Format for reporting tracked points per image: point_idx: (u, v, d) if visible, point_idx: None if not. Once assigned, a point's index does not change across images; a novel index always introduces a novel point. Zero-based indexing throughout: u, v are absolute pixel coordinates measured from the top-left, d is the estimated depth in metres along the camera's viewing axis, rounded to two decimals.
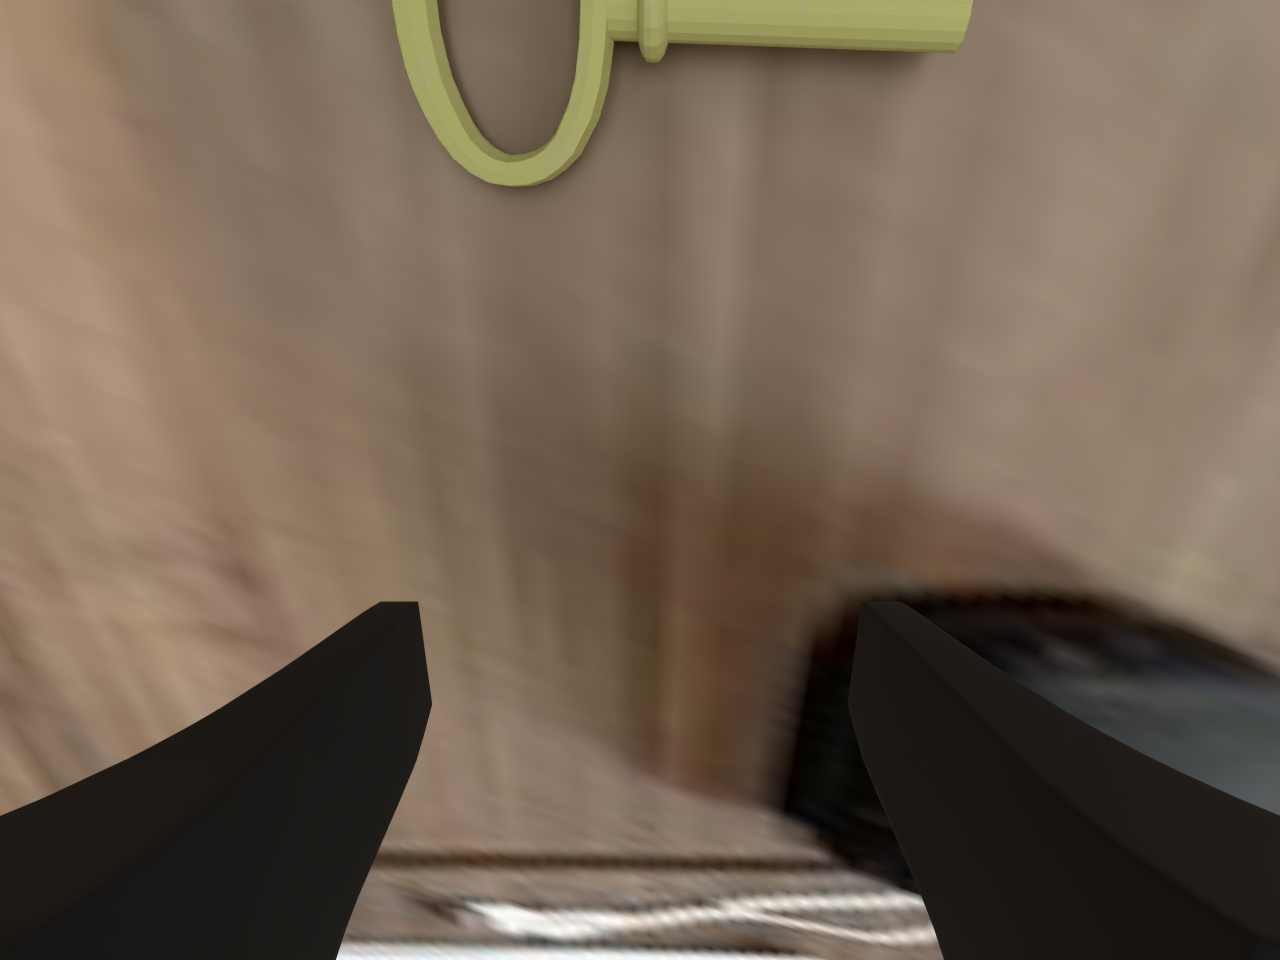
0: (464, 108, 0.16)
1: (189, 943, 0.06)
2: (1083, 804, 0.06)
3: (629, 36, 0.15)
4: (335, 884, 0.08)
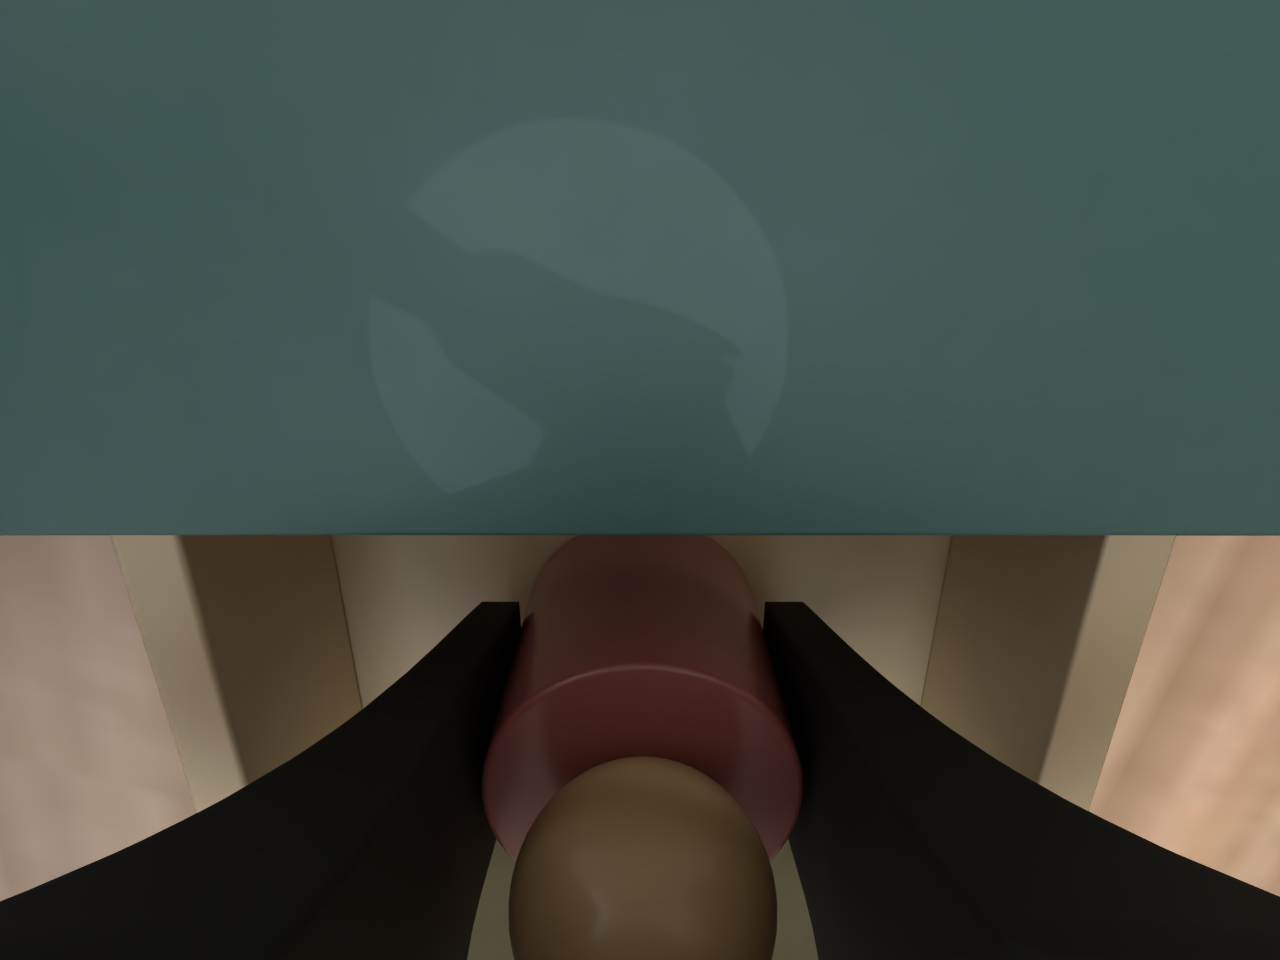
0: None
1: (383, 942, 0.06)
2: (908, 802, 0.06)
3: None
4: (466, 883, 0.08)
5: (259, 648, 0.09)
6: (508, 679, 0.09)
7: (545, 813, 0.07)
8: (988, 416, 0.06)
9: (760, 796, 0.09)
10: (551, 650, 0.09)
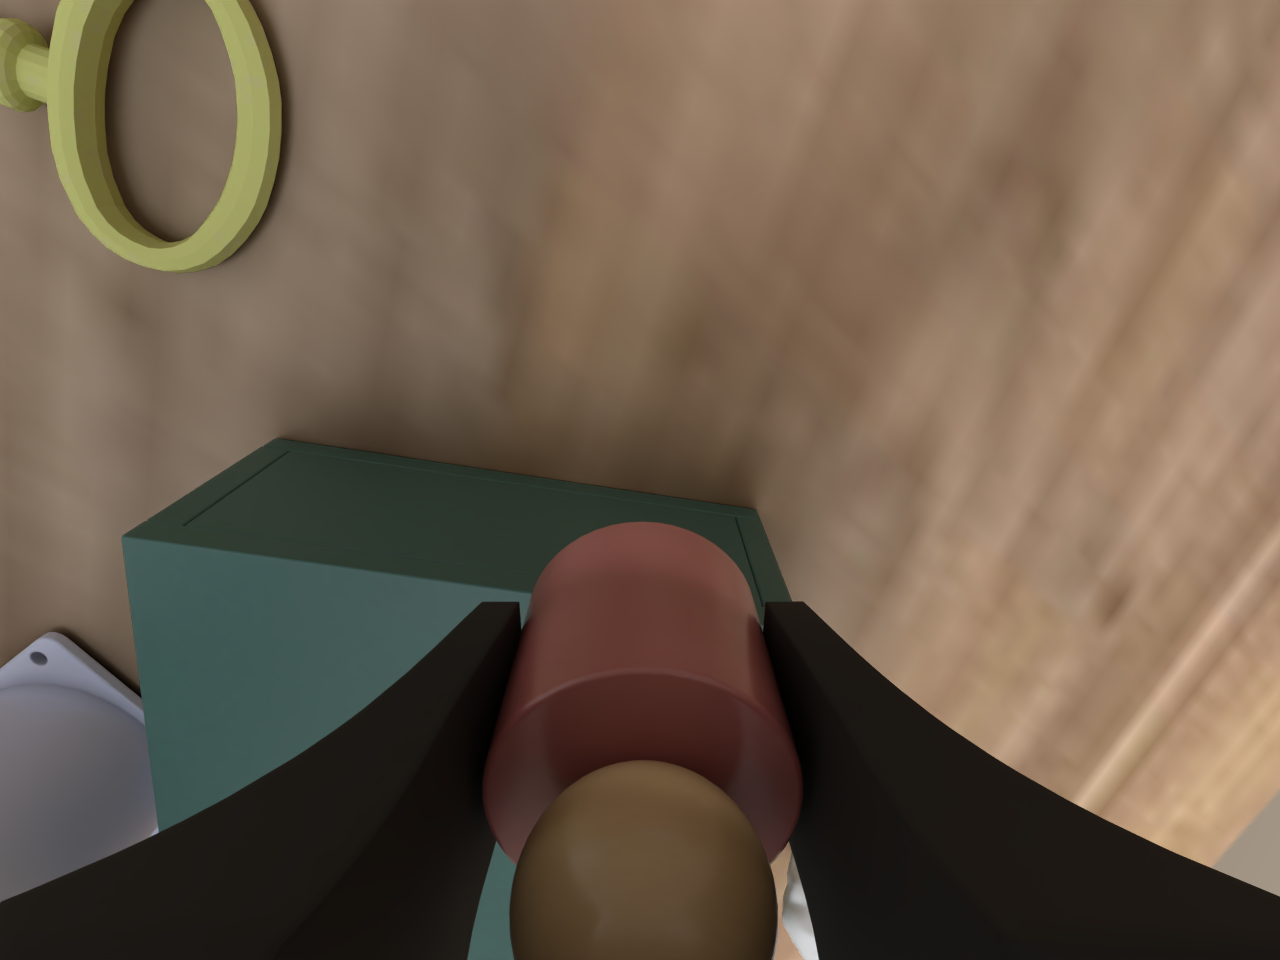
0: None
1: (382, 943, 0.06)
2: (908, 802, 0.06)
3: (35, 48, 0.16)
4: (467, 883, 0.08)
5: None
6: (509, 682, 0.09)
7: (546, 817, 0.07)
8: None
9: (760, 799, 0.09)
10: (552, 654, 0.09)
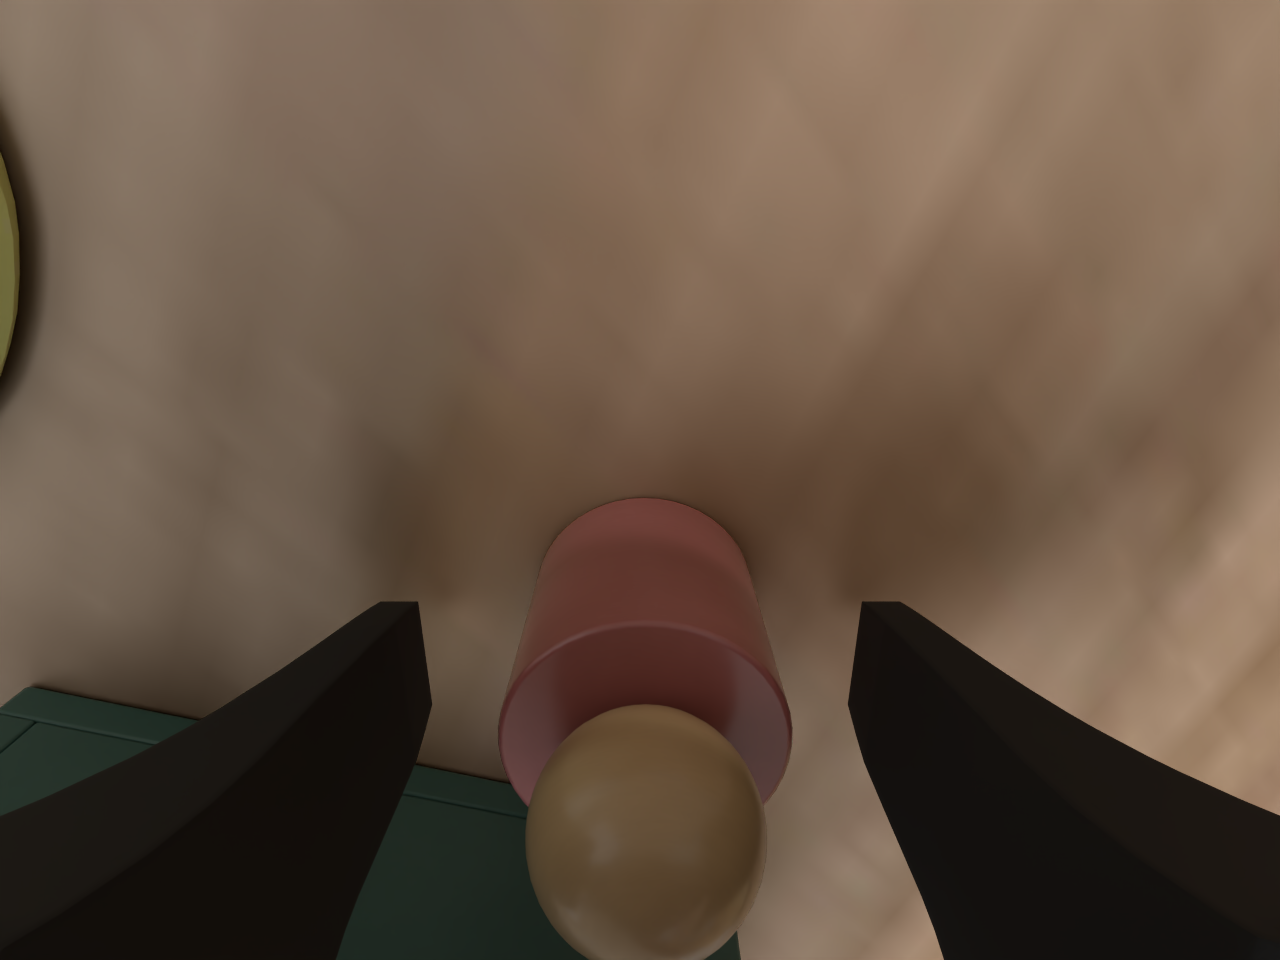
0: None
1: (188, 943, 0.06)
2: (1081, 803, 0.06)
3: None
4: (335, 884, 0.08)
5: None
6: (521, 641, 0.10)
7: (558, 751, 0.08)
8: None
9: (753, 744, 0.09)
10: (562, 611, 0.09)
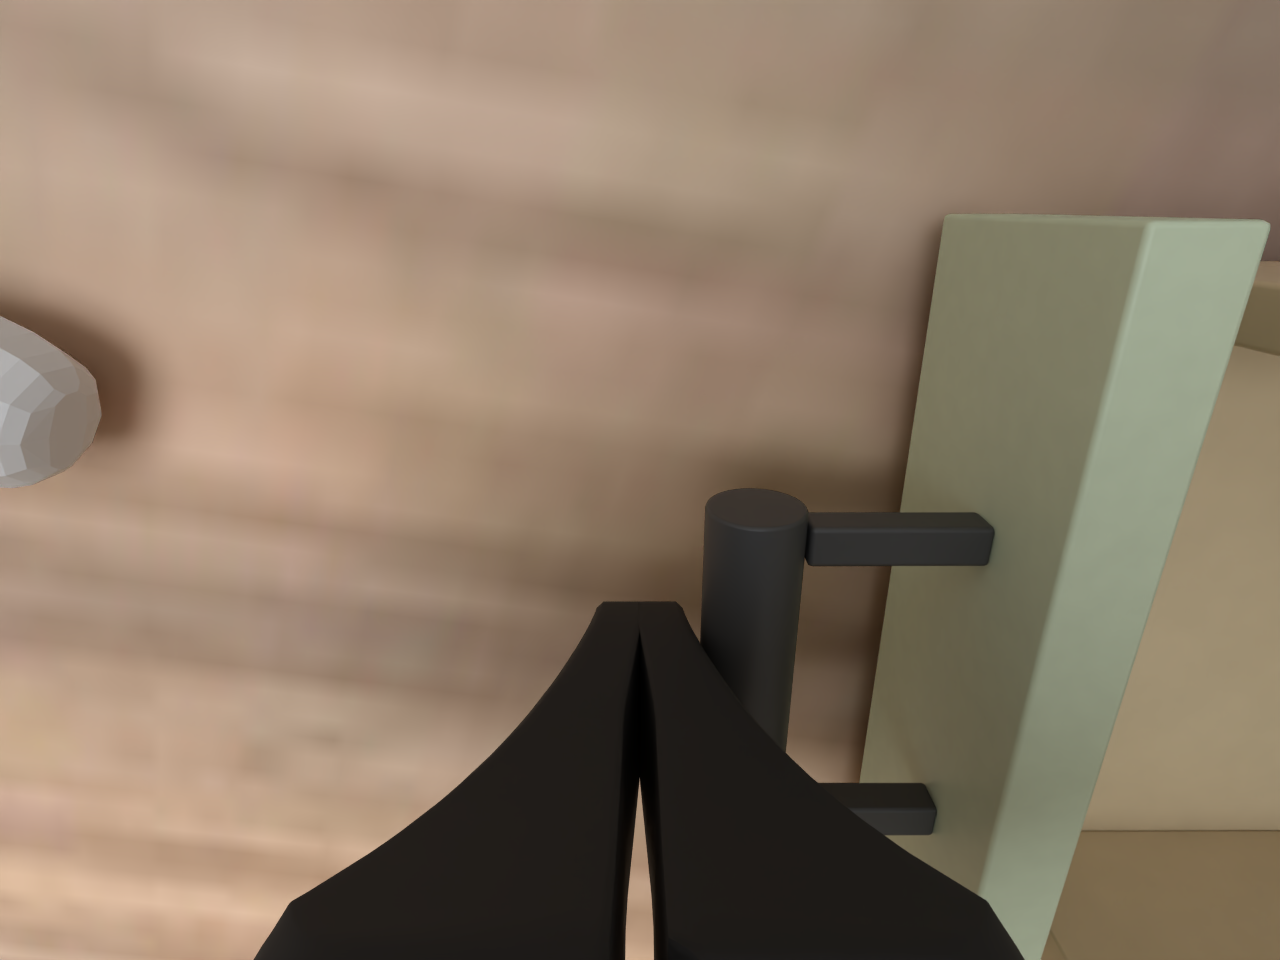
0: None
1: (618, 943, 0.06)
2: (681, 804, 0.06)
3: None
4: (625, 884, 0.08)
5: None
6: None
7: None
8: None
9: None
10: None
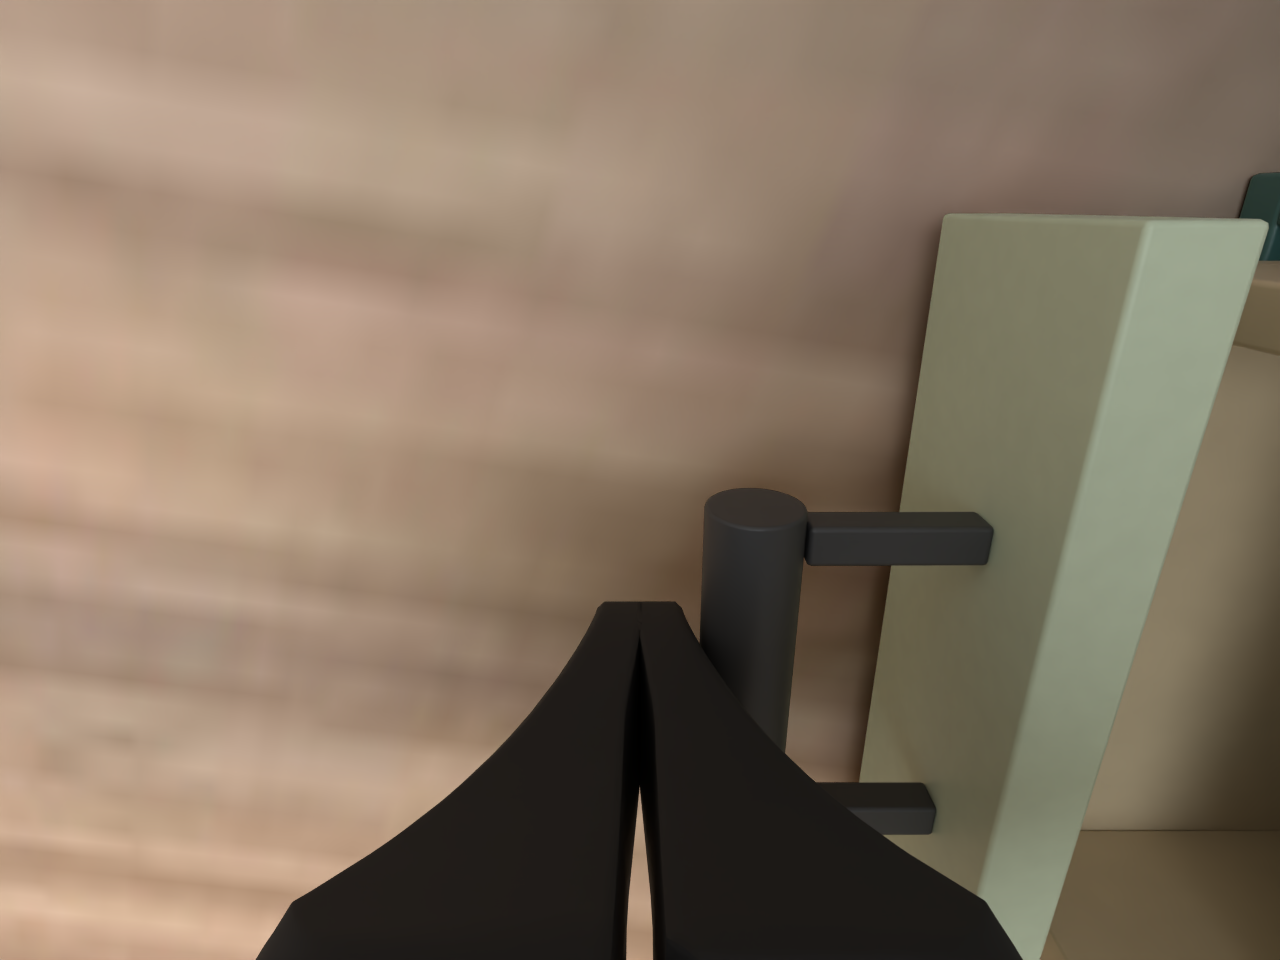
0: None
1: (620, 942, 0.06)
2: (680, 802, 0.06)
3: None
4: (626, 883, 0.08)
5: None
6: None
7: None
8: None
9: None
10: None
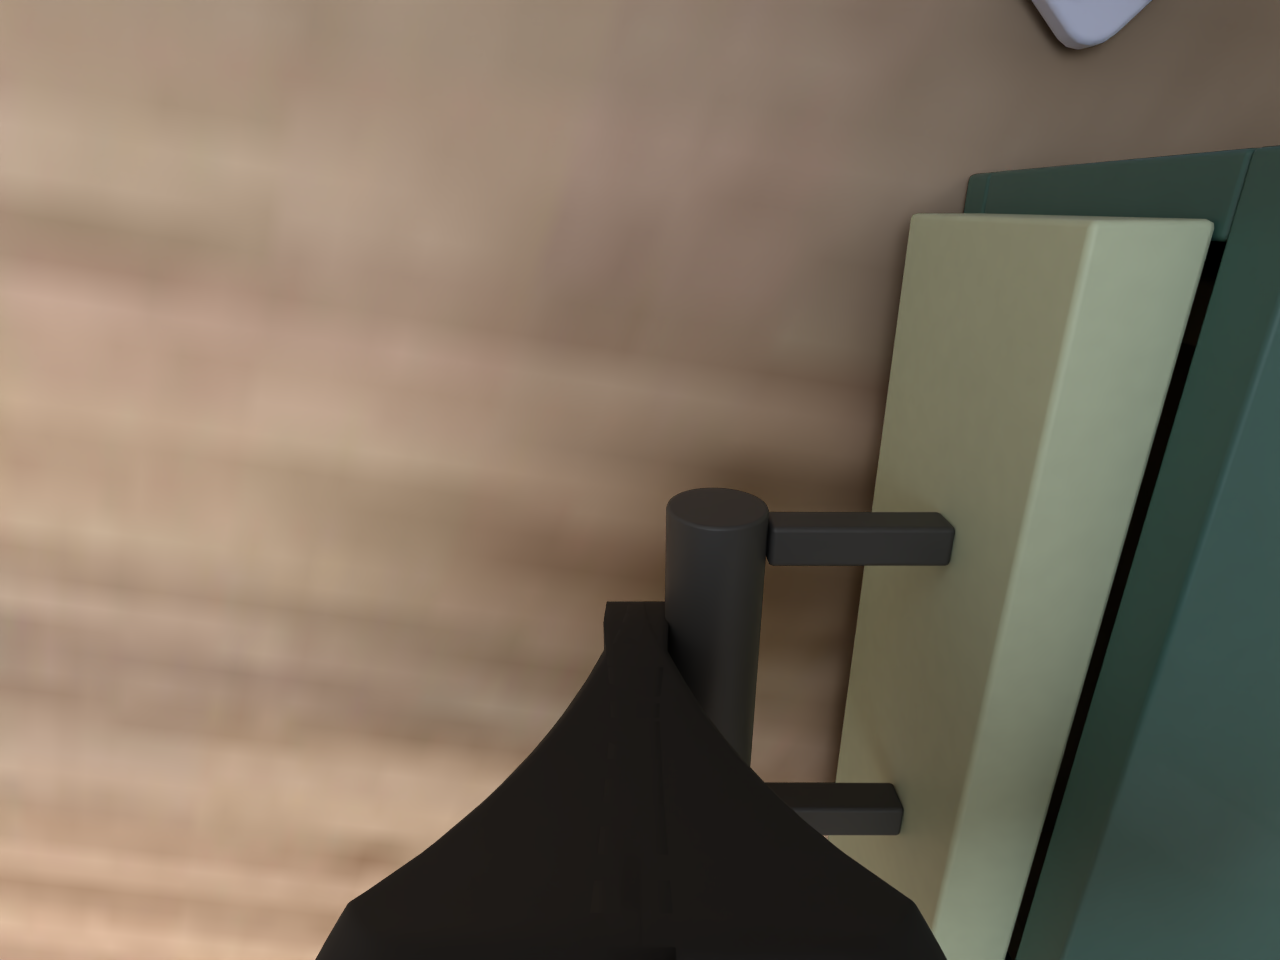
0: None
1: None
2: (625, 803, 0.06)
3: None
4: None
5: None
6: None
7: None
8: None
9: None
10: None
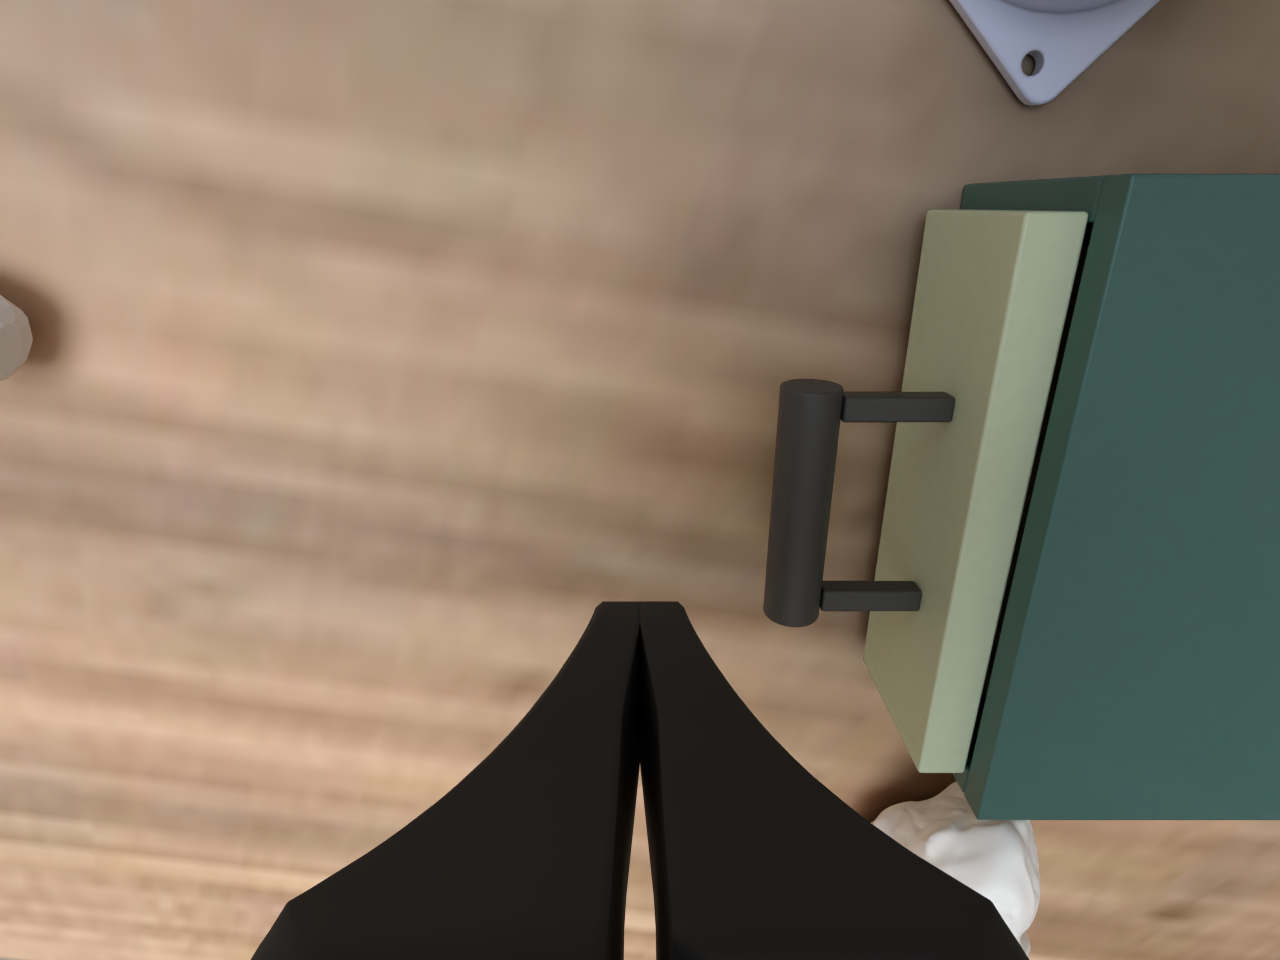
0: None
1: (615, 942, 0.06)
2: (685, 804, 0.06)
3: None
4: (623, 884, 0.08)
5: None
6: None
7: None
8: (1064, 679, 0.15)
9: None
10: None
